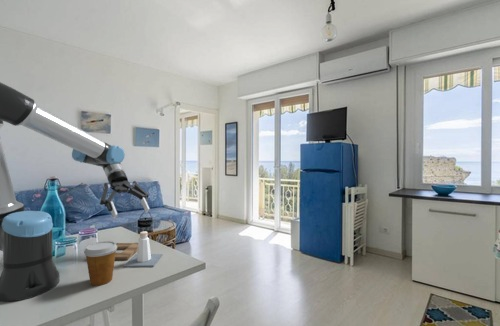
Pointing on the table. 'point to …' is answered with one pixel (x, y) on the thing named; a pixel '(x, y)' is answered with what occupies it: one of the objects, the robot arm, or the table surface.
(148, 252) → the pepper shaker
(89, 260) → the disposable coffee cup
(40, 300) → the table surface
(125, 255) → the walnut frame
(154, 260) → the grey mat
